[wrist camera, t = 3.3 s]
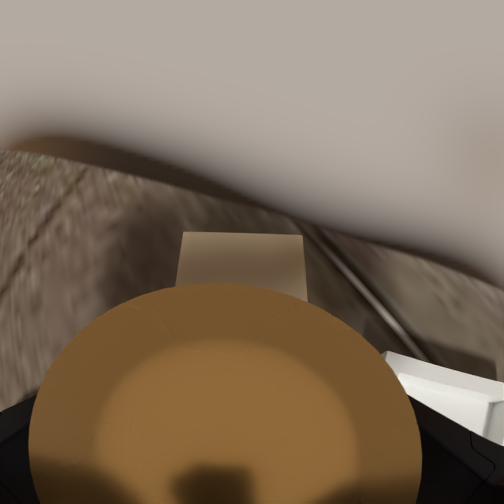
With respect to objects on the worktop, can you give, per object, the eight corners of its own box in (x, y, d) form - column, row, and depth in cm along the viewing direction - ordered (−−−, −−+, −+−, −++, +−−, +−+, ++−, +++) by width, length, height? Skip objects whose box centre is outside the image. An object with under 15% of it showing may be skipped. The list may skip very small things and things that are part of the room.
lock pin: (238, 485, 13) (229, 657, 1) (176, 428, 14) (-18, 425, 2) (298, 427, 15) (478, 433, 3) (235, 373, 16) (217, 217, 4)
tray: (452, 540, 9) (472, 547, 7) (301, 537, 11) (310, 552, 9) (497, 393, 15) (519, 386, 13) (370, 360, 17) (387, 350, 15)
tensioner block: (291, 355, 17) (313, 326, 12) (188, 352, 17) (165, 321, 12) (289, 279, 20) (305, 225, 15) (195, 276, 19) (180, 222, 14)
